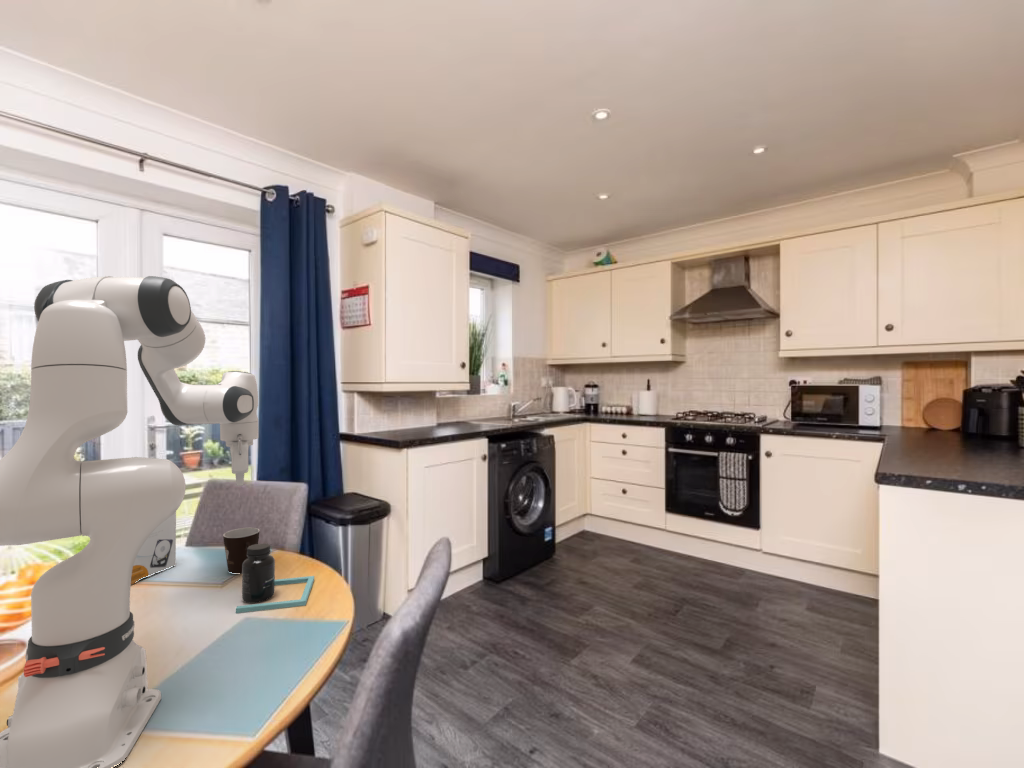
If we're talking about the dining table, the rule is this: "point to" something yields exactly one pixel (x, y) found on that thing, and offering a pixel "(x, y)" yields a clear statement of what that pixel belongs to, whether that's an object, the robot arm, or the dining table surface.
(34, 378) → the robot arm
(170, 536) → the hard drive box
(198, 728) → the dining table surface
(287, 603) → the teal frame
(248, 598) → the supplement bottle
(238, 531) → the coffee mug
